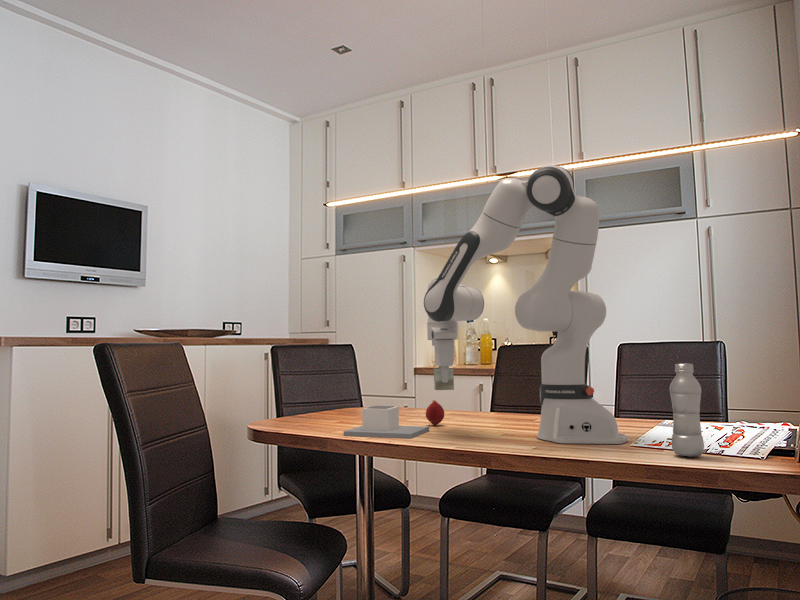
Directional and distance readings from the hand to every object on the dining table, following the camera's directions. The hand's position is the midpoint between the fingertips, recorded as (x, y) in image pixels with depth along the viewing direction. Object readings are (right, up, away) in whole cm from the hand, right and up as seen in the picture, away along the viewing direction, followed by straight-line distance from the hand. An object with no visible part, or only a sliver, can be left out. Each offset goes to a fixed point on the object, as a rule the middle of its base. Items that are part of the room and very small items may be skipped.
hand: (443, 382), depth 178 cm
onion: (-2, -16, +14) cm, 21 cm away
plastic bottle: (+50, -11, -44) cm, 67 cm away
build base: (-16, -14, -1) cm, 22 cm away
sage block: (0, -2, 0) cm, 2 cm away
